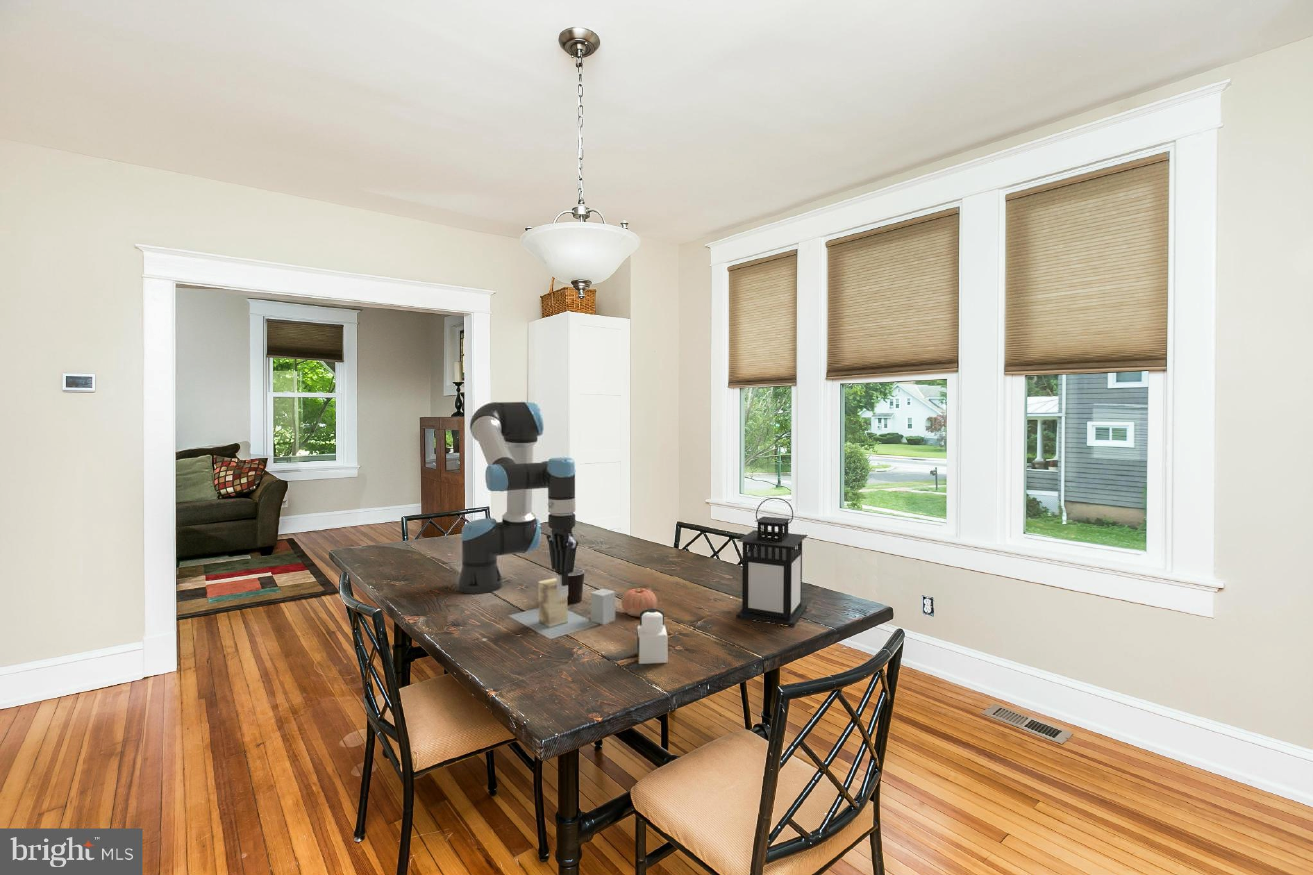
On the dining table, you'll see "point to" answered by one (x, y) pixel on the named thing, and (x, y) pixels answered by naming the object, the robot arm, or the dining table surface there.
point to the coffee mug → (575, 586)
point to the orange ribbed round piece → (638, 601)
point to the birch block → (551, 604)
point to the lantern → (772, 573)
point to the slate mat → (573, 625)
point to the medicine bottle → (652, 637)
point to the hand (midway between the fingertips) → (562, 595)
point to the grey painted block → (603, 606)
